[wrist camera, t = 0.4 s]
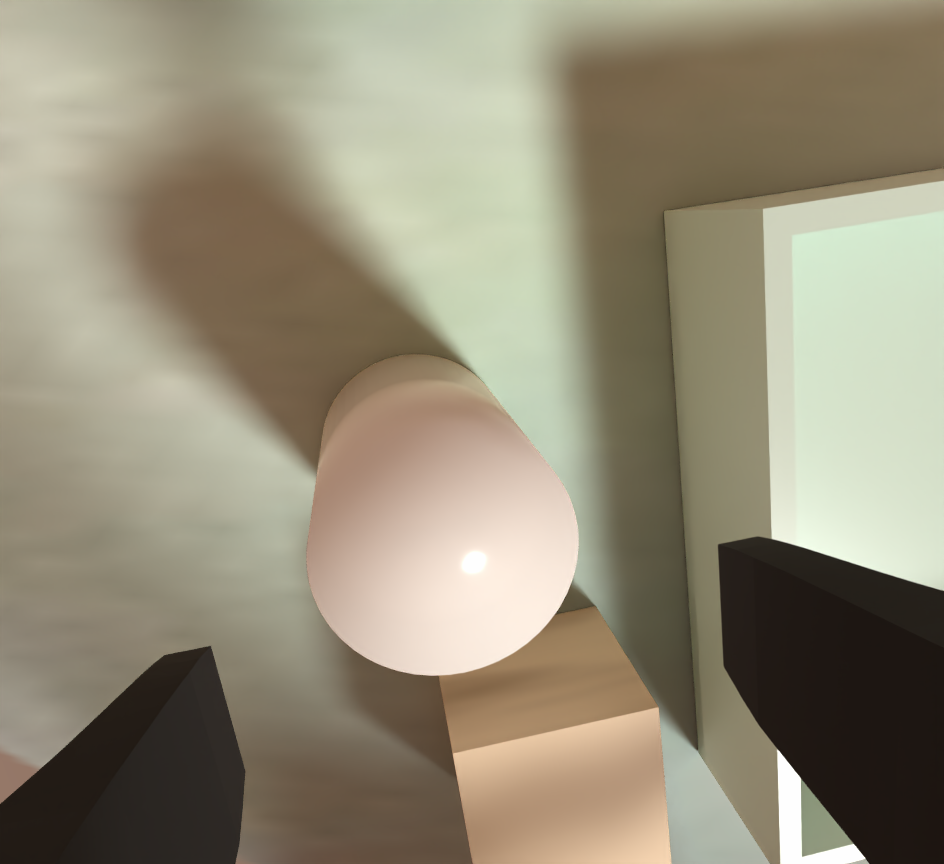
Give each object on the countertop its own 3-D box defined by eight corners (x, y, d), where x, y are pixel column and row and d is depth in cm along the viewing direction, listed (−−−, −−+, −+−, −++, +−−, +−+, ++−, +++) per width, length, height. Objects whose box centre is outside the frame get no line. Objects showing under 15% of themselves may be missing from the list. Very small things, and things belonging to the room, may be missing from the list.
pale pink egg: (516, 511, 21) (591, 645, 15) (341, 545, 21) (336, 700, 14) (493, 339, 20) (563, 400, 13) (304, 371, 19) (279, 452, 13)
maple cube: (609, 741, 24) (672, 870, 19) (456, 776, 24) (482, 917, 19) (594, 605, 23) (658, 707, 18) (431, 638, 22) (453, 753, 17)
